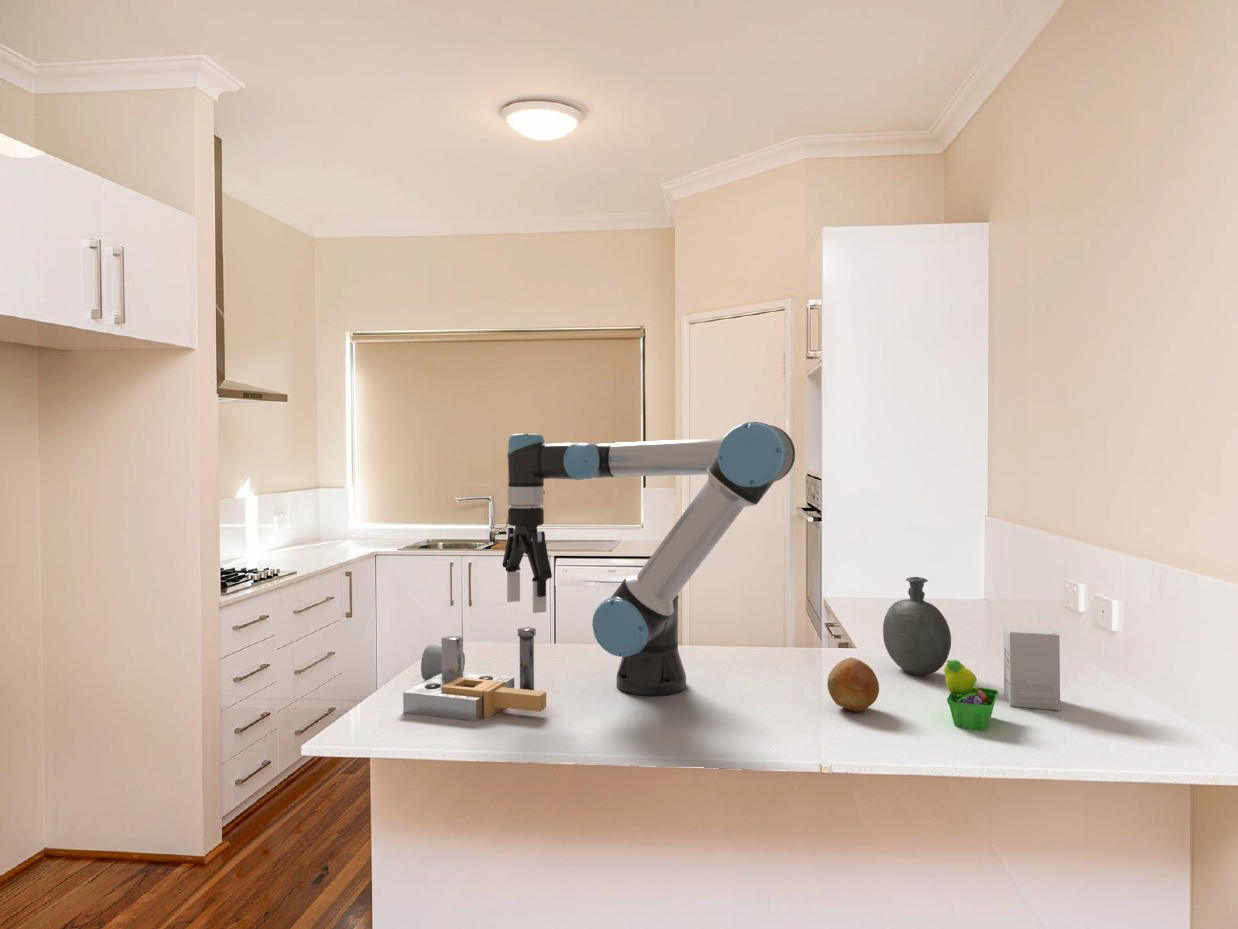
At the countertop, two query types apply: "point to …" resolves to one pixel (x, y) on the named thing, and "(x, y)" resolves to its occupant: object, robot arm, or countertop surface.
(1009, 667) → the supplement box
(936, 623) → the flask
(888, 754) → the countertop surface
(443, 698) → the grey latch block
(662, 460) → the robot arm
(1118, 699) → the countertop surface
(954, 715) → the fruit basket
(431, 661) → the ceramic mug
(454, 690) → the bracket
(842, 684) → the onion
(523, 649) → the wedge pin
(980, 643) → the countertop surface
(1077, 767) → the countertop surface
